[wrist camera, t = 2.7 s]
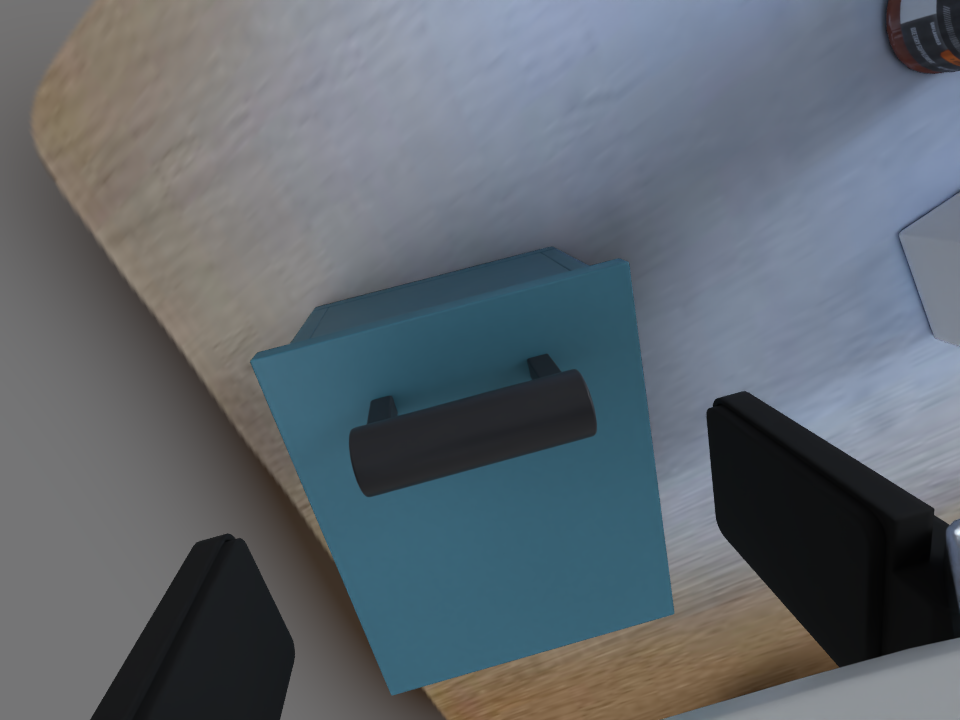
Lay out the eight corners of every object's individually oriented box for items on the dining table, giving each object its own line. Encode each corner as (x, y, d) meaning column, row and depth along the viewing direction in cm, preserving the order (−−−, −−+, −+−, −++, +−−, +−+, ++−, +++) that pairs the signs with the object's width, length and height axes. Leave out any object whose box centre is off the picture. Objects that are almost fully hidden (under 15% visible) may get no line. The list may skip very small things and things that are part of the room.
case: (314, 307, 24) (266, 375, 16) (552, 245, 25) (622, 281, 17) (397, 535, 29) (391, 677, 21) (594, 480, 30) (665, 598, 22)
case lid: (256, 352, 16) (195, 422, 11) (619, 257, 16) (698, 289, 12) (391, 678, 21) (387, 814, 17) (666, 599, 21) (733, 711, 17)
